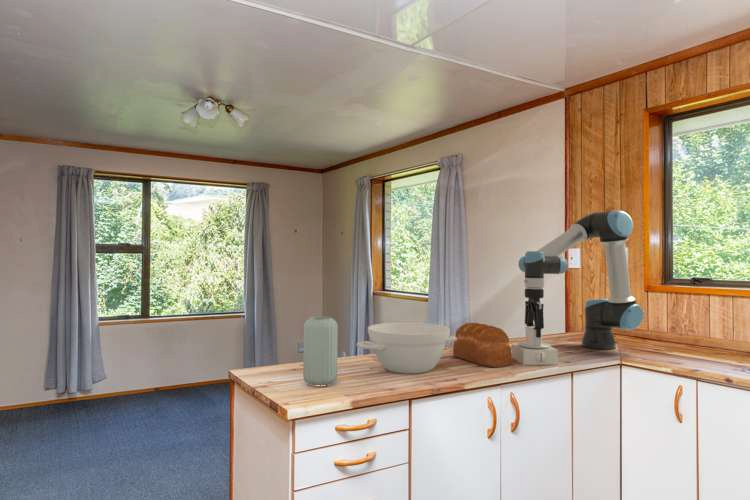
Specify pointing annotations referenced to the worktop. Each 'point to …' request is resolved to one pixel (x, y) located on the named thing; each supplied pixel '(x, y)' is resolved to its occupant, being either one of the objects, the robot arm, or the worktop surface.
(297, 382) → the worktop surface
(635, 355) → the worktop surface
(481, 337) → the bread
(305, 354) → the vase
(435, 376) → the worktop surface
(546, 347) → the kitchen scale
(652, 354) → the worktop surface
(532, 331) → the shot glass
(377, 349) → the pot
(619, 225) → the robot arm
